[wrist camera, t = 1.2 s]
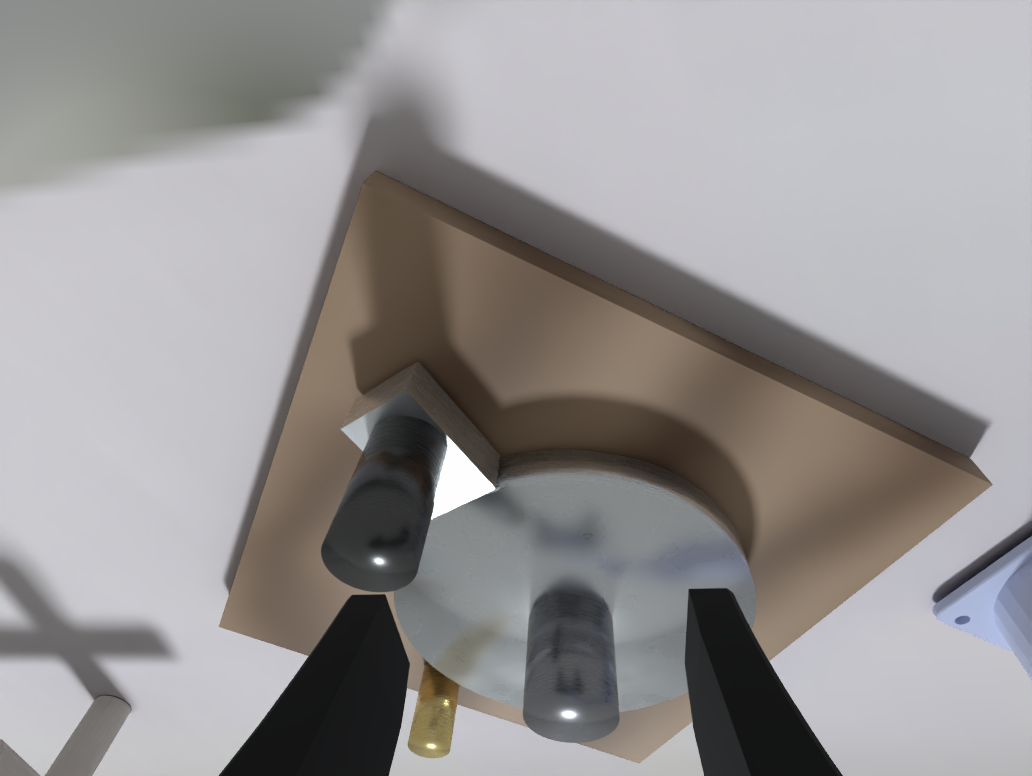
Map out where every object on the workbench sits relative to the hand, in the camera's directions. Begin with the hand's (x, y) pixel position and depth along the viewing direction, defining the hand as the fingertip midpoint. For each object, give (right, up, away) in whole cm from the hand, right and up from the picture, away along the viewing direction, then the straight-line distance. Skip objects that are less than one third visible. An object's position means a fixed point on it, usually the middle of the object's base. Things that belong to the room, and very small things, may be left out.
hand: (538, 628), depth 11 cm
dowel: (-3, -8, +15) cm, 17 cm away
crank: (0, -1, +10) cm, 11 cm away
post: (+1, -4, +10) cm, 11 cm away
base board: (+2, -2, +12) cm, 13 cm away
